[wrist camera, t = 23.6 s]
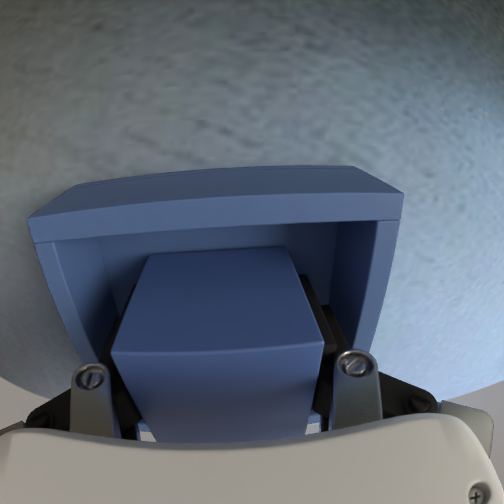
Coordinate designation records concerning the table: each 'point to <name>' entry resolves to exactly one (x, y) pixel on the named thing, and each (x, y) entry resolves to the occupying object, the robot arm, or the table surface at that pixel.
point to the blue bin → (219, 238)
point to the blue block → (220, 347)
